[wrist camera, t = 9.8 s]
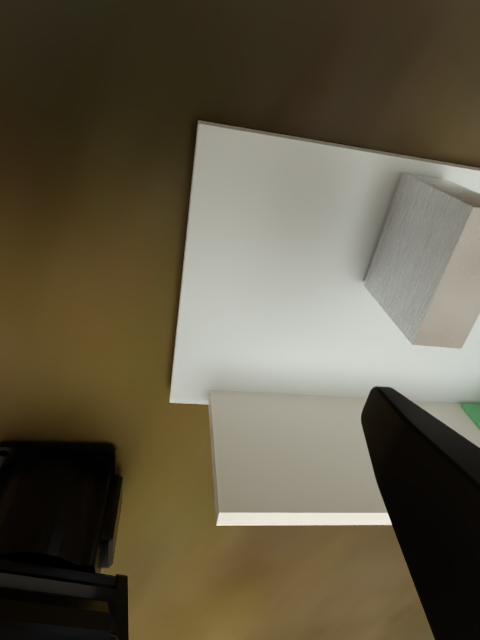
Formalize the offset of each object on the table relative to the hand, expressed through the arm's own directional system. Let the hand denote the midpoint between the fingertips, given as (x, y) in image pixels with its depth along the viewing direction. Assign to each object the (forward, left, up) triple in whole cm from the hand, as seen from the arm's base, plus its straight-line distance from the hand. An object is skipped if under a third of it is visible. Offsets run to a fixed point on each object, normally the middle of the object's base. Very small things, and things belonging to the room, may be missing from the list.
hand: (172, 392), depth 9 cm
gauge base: (+13, -2, -11) cm, 17 cm away
